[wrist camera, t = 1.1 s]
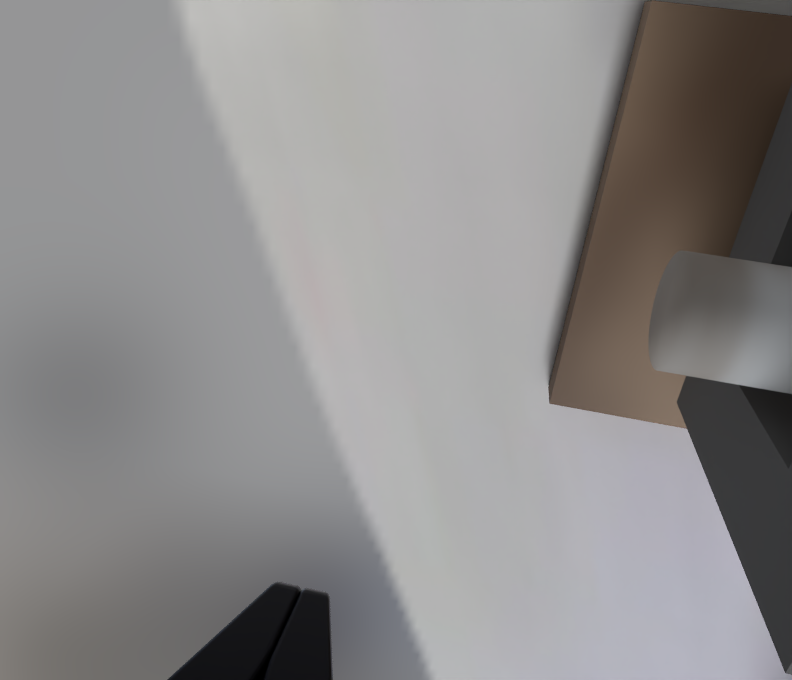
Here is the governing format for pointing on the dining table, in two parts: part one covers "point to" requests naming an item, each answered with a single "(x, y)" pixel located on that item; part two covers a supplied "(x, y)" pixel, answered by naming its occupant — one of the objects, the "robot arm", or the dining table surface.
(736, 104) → the pipe fixture
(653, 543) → the dining table surface
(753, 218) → the grey flat block
